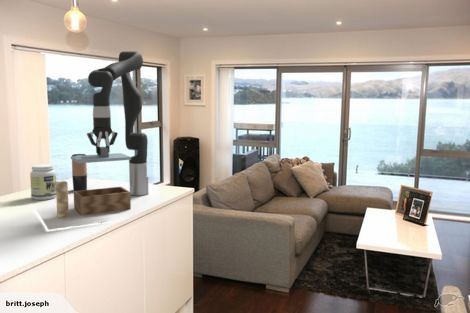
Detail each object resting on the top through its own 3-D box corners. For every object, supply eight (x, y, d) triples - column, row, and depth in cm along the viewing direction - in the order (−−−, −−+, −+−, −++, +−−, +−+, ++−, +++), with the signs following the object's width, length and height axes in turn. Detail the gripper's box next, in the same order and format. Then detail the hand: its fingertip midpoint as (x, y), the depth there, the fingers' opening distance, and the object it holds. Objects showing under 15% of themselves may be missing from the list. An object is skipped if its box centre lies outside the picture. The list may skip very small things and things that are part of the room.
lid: (120, 155, 204) (120, 144, 204) (131, 159, 192) (130, 148, 191) (70, 158, 192) (70, 147, 192) (78, 163, 180) (77, 151, 179)
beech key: (67, 217, 184) (65, 181, 182) (69, 219, 181) (67, 182, 179) (57, 218, 182) (55, 181, 180) (59, 220, 179) (57, 183, 177)
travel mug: (90, 189, 240) (89, 154, 237) (81, 192, 233) (80, 156, 230) (79, 188, 243) (77, 153, 240) (69, 190, 235) (68, 155, 233)
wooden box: (121, 204, 207) (120, 186, 206) (130, 211, 195) (130, 192, 194) (74, 210, 195) (73, 191, 194) (81, 217, 184) (80, 197, 182)
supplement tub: (47, 201, 212) (45, 167, 209) (25, 199, 214) (24, 166, 212) (62, 195, 224) (60, 164, 221) (41, 194, 226) (39, 163, 224)
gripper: (87, 117, 183) (89, 156, 186) (119, 116, 191) (120, 154, 193) (83, 116, 189) (85, 154, 192) (115, 115, 197) (116, 152, 199)
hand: (103, 154), depth 192 cm, fingers closed on lid, 3 cm apart
